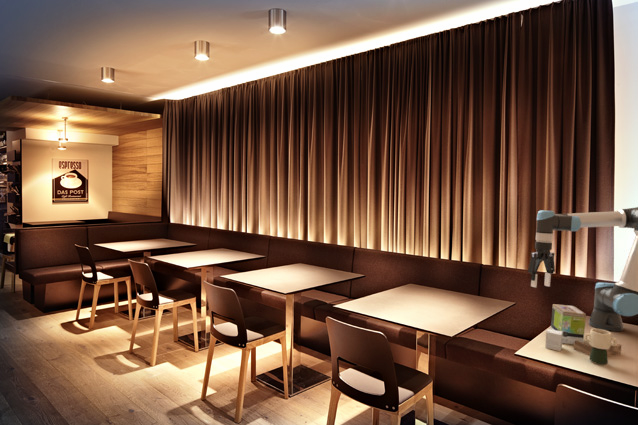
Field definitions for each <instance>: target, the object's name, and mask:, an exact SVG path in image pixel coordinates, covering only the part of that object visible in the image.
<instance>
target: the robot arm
mask: <svg viewBox="0 0 638 425" xmlns="http://www.w3.org/2000/svg"><path fill="white" fill-rule="evenodd" d="M601 227H603V228H605V227H618V228H621V229H625V228H627V229H633V232H634V234H635V237H634V241H633V243H632V245H631V248H630V252H629V254H628V257H627V259H626V262H625V265H624V267H623V270H622V272H621V276H620V278H619V281H616V282H615V283H614V282H613V283H612V282H601V281H600V282H596V283H595V287H594V298H593V299H594V300H593V310H592V312H591V315H590V317H589V319H588V325H589V326H590V327H593V328H595V329H602V330H606V331H609V332H610V331H611V332H621V331H623V330H624V324H623V319H622V317H621V316H623V317H633V316H636V315H638V206H637V207H631V208H619V209H617V210H616V211H615V210H613V211H598V212H597V211H595V212H594V211H593V212H575V213H573V212H572V213H555V211H553V210H543V209H542V210H539V211H537V215H536V229H535V242H534V249H535V250H536V251H535V252H531V253H530V260H529V264H528V270H527V273H529V274H530V287H532V288H538V287H537V286H538V273H537V272H538V270H539V268H540V265H541V263H542V262H543V264H544V267H545V272H544V286H545V287H551V279H552V274H554V273H555V272H556V268H555V252H552V250H553V241H554V240H553V239H554V238H553V236H554V231H562V232H564V231H565V232H579V230H580V229H581V228H601Z"/></svg>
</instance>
